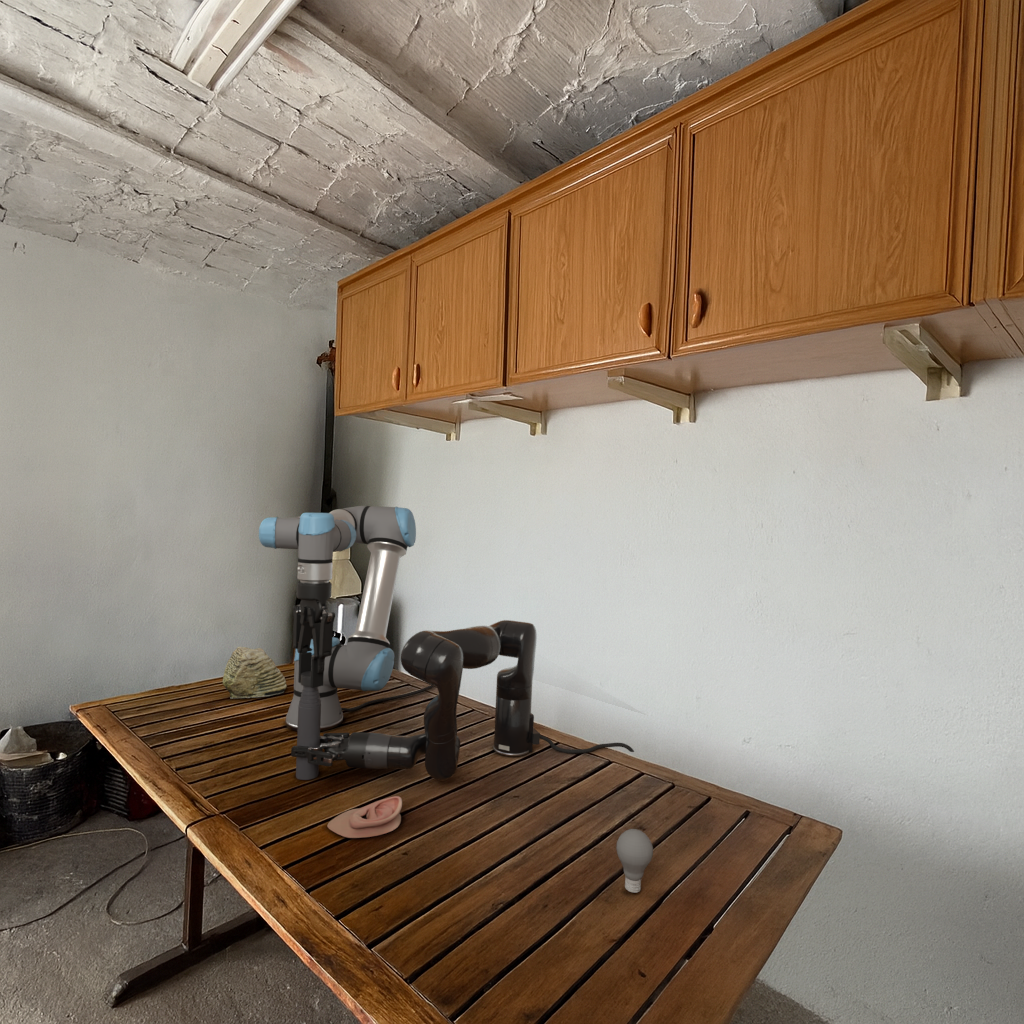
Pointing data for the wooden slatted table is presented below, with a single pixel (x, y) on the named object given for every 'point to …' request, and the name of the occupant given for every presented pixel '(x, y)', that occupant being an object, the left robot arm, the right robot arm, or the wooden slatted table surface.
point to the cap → (306, 678)
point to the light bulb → (634, 857)
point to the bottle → (308, 730)
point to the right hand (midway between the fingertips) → (296, 746)
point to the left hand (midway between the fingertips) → (310, 683)
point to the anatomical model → (369, 819)
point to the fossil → (252, 674)
